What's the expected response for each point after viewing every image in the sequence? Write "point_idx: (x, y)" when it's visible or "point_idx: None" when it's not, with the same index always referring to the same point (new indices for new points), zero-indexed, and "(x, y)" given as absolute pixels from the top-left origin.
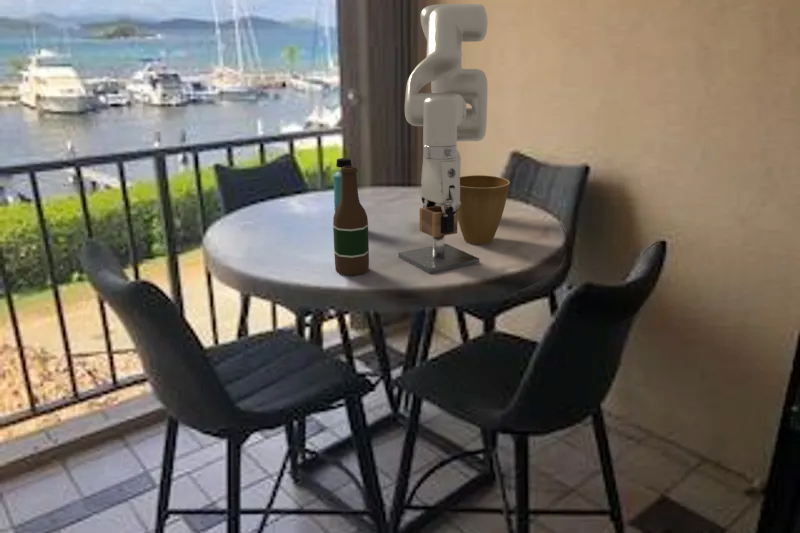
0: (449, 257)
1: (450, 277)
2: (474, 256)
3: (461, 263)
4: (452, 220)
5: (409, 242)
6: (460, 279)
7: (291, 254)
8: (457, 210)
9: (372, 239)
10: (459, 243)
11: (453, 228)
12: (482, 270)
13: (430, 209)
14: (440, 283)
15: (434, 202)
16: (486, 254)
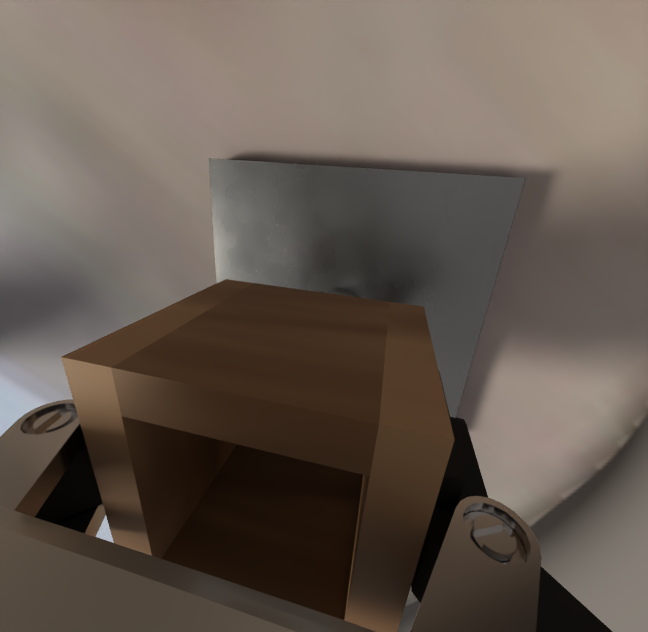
0: (392, 294)
1: (535, 406)
2: (474, 175)
3: (487, 297)
4: (480, 479)
5: (94, 245)
6: (588, 396)
7: (101, 530)
8: (451, 442)
9: (30, 327)
10: (183, 29)
11: (442, 384)
12: (602, 243)
13: (160, 514)
14: (549, 467)
15: (42, 495)
16: (431, 14)
